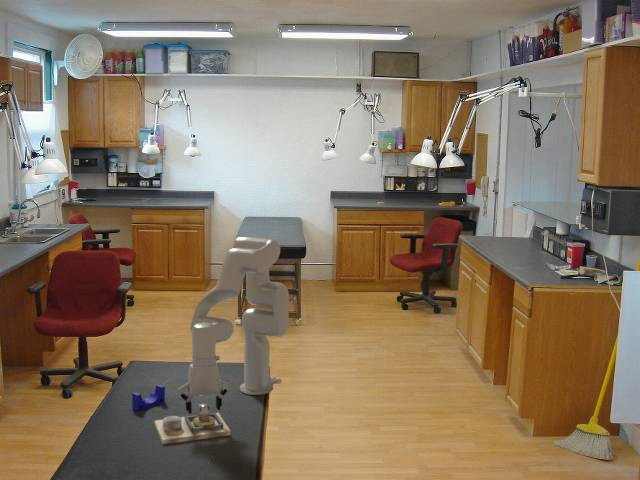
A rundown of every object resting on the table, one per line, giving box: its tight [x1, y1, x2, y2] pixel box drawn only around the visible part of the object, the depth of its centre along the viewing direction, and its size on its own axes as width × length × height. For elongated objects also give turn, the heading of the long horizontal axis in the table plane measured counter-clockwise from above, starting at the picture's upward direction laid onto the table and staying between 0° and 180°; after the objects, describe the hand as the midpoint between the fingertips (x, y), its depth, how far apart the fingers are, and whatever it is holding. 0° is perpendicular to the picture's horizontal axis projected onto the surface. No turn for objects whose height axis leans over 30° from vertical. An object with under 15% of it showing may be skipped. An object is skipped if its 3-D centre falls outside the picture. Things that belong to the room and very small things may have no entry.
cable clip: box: [131, 384, 166, 412], centre depth 270 cm, size 12×4×6 cm, turn 141°
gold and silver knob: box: [193, 403, 215, 427], centre depth 251 cm, size 7×7×6 cm
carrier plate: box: [153, 412, 232, 445], centre depth 250 cm, size 22×16×4 cm
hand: (203, 410), depth 250 cm, fingers open, 9 cm apart
